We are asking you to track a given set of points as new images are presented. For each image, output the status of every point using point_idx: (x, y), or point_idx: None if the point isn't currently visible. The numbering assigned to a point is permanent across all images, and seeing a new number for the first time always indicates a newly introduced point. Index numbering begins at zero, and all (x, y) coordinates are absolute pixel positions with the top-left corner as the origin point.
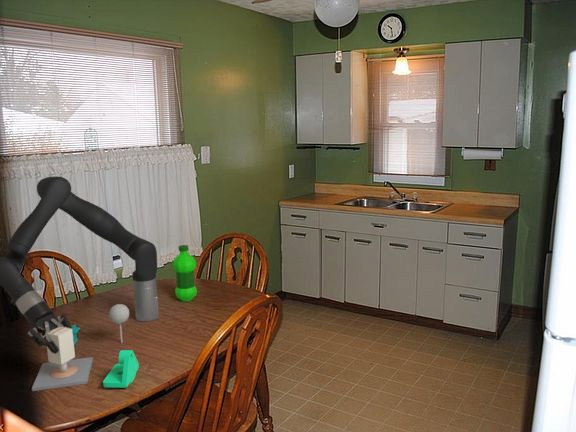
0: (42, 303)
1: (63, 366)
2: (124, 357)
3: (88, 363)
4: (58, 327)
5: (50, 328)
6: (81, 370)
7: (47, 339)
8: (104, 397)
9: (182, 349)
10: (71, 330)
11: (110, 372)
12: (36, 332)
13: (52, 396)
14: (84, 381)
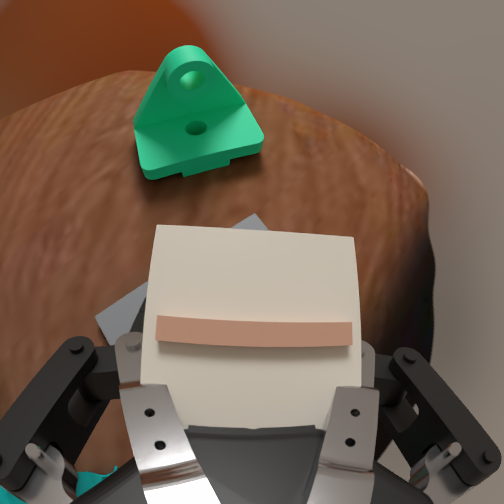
0: None
1: None
2: (209, 59)
3: (141, 297)
4: (178, 414)
5: (286, 449)
6: None
7: (373, 359)
8: (290, 136)
9: (38, 121)
10: (169, 232)
11: (202, 152)
12: (459, 433)
13: (357, 271)
14: (259, 220)
